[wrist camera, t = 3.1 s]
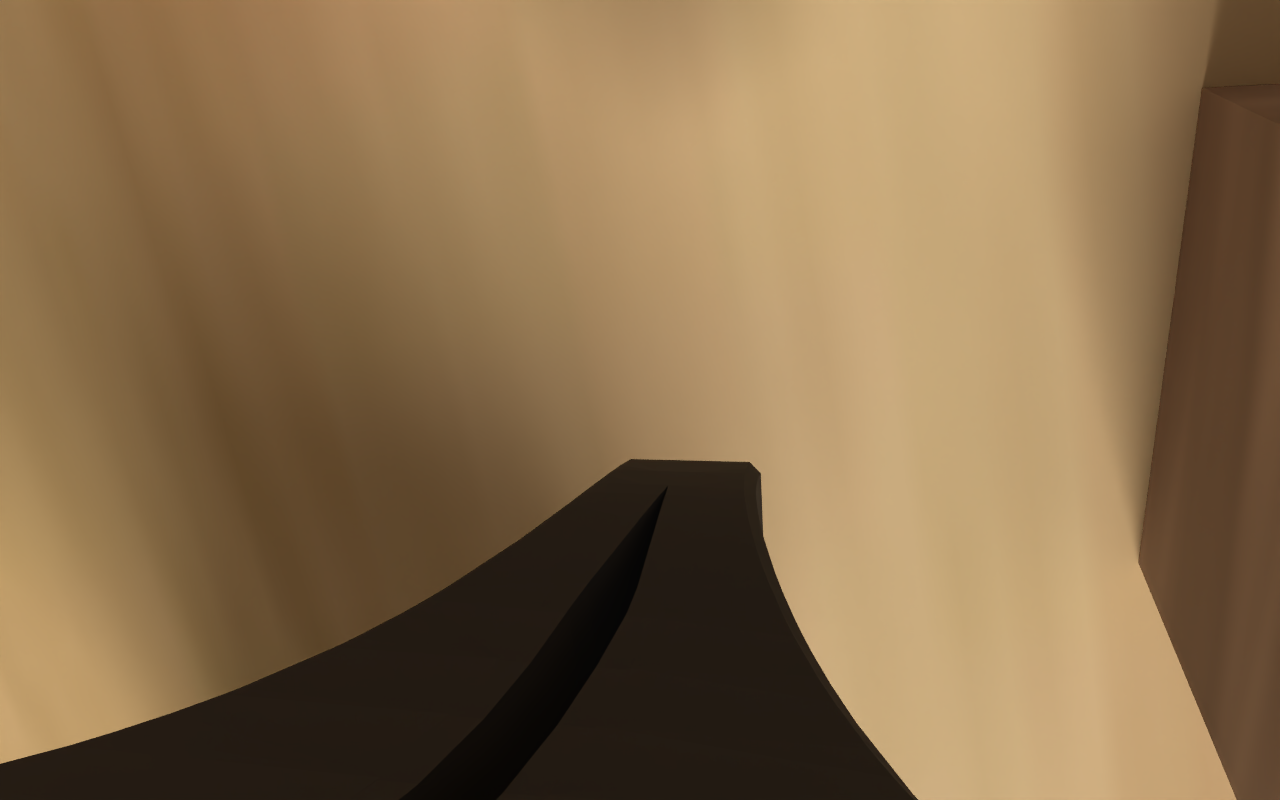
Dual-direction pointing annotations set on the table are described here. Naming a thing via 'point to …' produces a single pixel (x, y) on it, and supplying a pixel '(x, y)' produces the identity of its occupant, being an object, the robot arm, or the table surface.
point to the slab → (1225, 439)
